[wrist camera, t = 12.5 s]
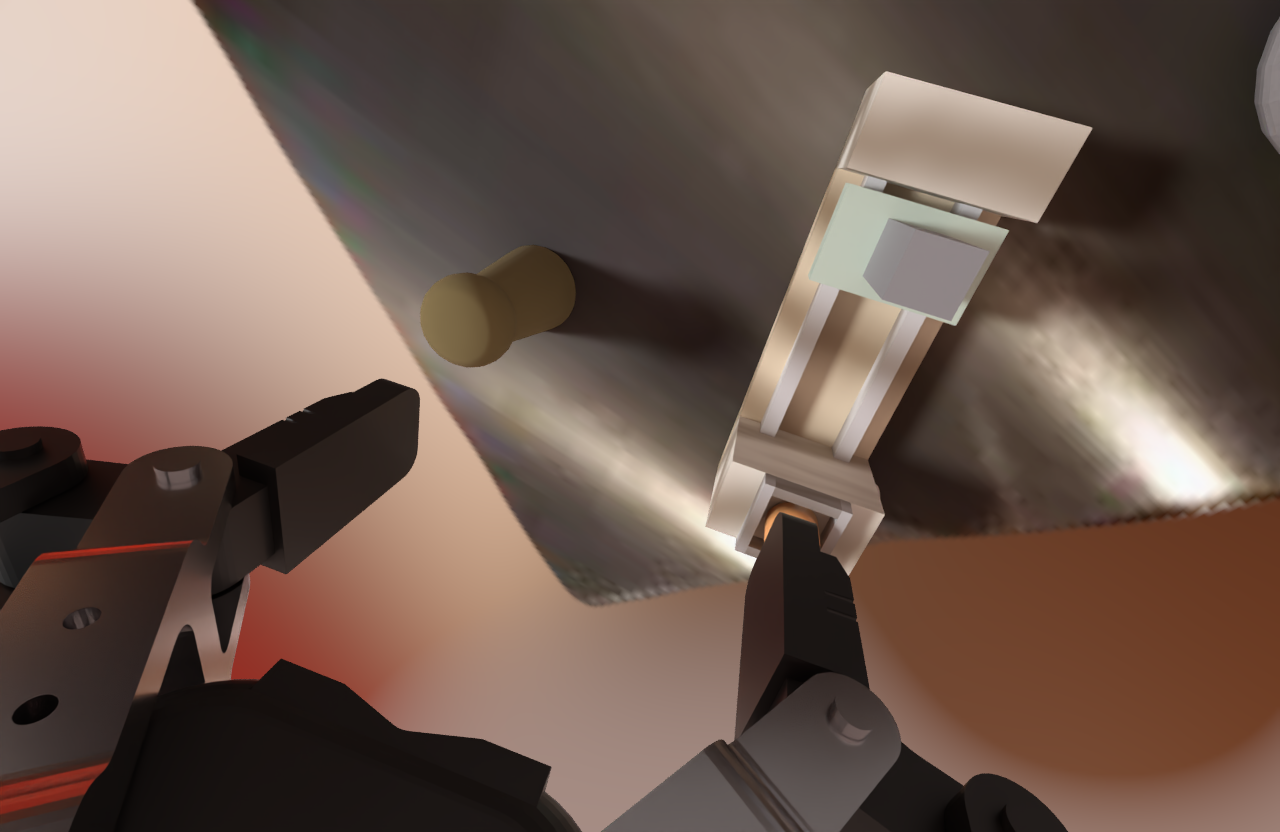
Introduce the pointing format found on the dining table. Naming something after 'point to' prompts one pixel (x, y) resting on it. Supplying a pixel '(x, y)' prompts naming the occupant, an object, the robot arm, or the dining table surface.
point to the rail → (872, 309)
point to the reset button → (791, 510)
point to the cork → (497, 306)
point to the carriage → (905, 253)
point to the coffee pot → (1269, 88)
